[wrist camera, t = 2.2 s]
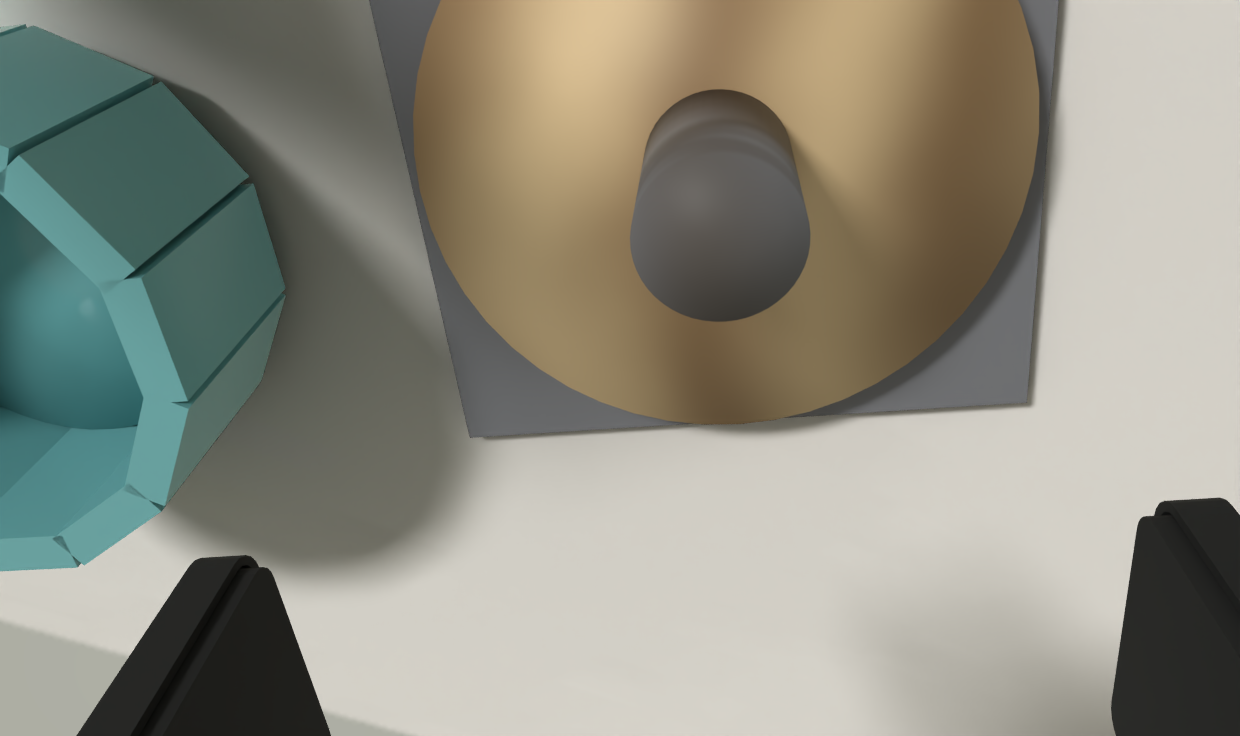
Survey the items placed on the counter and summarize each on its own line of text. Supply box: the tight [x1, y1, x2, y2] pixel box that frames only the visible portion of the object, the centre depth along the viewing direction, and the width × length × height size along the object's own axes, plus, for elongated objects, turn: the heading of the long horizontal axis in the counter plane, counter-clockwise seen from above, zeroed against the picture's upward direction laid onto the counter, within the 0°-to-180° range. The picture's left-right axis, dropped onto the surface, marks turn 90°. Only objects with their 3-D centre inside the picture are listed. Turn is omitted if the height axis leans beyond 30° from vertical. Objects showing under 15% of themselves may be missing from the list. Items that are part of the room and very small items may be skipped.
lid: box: [413, 0, 1039, 424], centre depth 23 cm, size 15×15×6 cm
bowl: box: [0, 24, 286, 571], centre depth 26 cm, size 12×12×7 cm
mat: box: [369, 0, 1059, 438], centre depth 26 cm, size 16×16×1 cm
